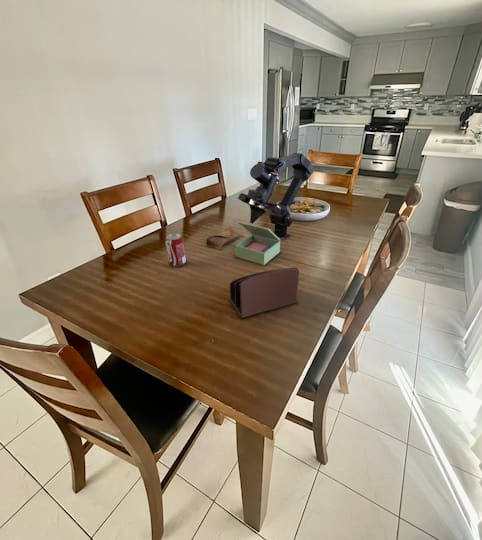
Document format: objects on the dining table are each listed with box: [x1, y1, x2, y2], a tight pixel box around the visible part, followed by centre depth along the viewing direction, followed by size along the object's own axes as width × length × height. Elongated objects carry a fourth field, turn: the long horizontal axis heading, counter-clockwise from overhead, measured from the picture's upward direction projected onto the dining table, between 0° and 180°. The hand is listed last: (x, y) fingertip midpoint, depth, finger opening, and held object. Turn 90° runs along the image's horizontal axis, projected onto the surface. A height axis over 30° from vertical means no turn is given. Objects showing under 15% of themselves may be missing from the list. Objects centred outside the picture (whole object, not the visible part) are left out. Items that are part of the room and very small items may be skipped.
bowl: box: [276, 196, 331, 222], centre depth 167 cm, size 30×30×8 cm
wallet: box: [246, 242, 272, 253], centre depth 125 cm, size 7×10×2 cm
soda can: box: [165, 233, 187, 267], centre depth 117 cm, size 7×7×12 cm
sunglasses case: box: [205, 226, 243, 249], centre depth 138 cm, size 18×7×7 cm
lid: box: [237, 220, 281, 242], centre depth 121 cm, size 14×14×1 cm
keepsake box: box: [234, 233, 281, 266], centre depth 124 cm, size 13×14×6 cm
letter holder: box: [229, 267, 300, 319], centre depth 93 cm, size 10×20×14 cm, turn 114°
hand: (251, 223), depth 122 cm, fingers closed
